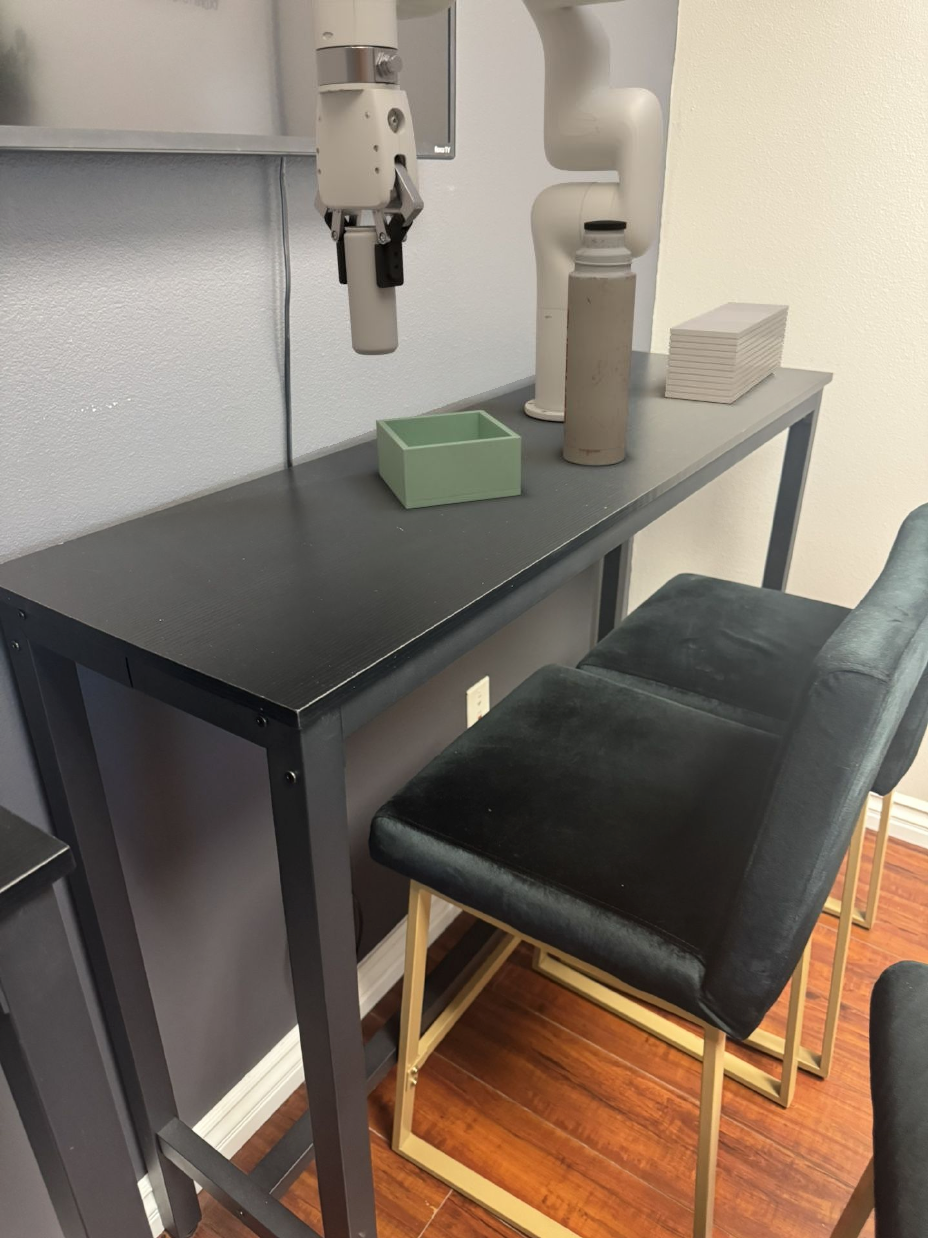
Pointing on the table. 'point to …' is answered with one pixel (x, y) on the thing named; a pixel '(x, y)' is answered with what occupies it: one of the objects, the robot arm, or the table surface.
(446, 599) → the table surface
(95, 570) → the table surface
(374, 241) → the beverage can
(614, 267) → the thermos bottle
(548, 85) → the robot arm
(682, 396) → the stack of papers
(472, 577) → the table surface
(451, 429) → the open box
